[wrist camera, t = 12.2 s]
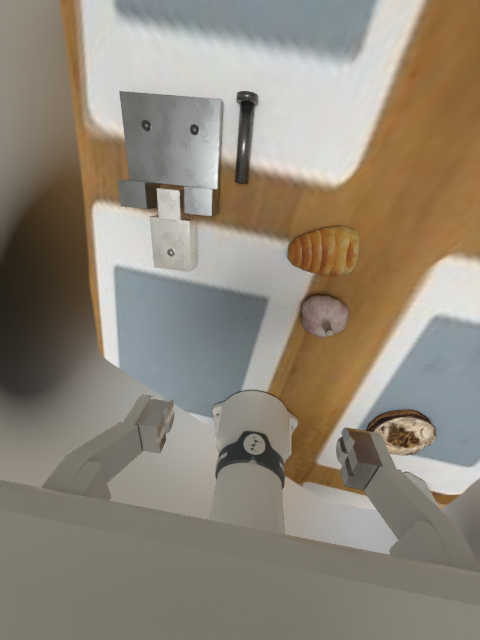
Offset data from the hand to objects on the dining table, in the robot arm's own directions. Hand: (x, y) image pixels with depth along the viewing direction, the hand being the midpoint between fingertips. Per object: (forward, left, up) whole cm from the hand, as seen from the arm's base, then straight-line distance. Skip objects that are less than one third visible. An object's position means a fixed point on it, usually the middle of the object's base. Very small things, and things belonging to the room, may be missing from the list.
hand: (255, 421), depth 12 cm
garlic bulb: (-7, -10, -29) cm, 32 cm away
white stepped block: (+3, +14, -29) cm, 33 cm away
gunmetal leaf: (+13, +14, -29) cm, 35 cm away
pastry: (+2, -8, -30) cm, 31 cm away
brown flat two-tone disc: (-32, -32, -30) cm, 54 cm away
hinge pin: (+14, +5, -29) cm, 33 cm away
